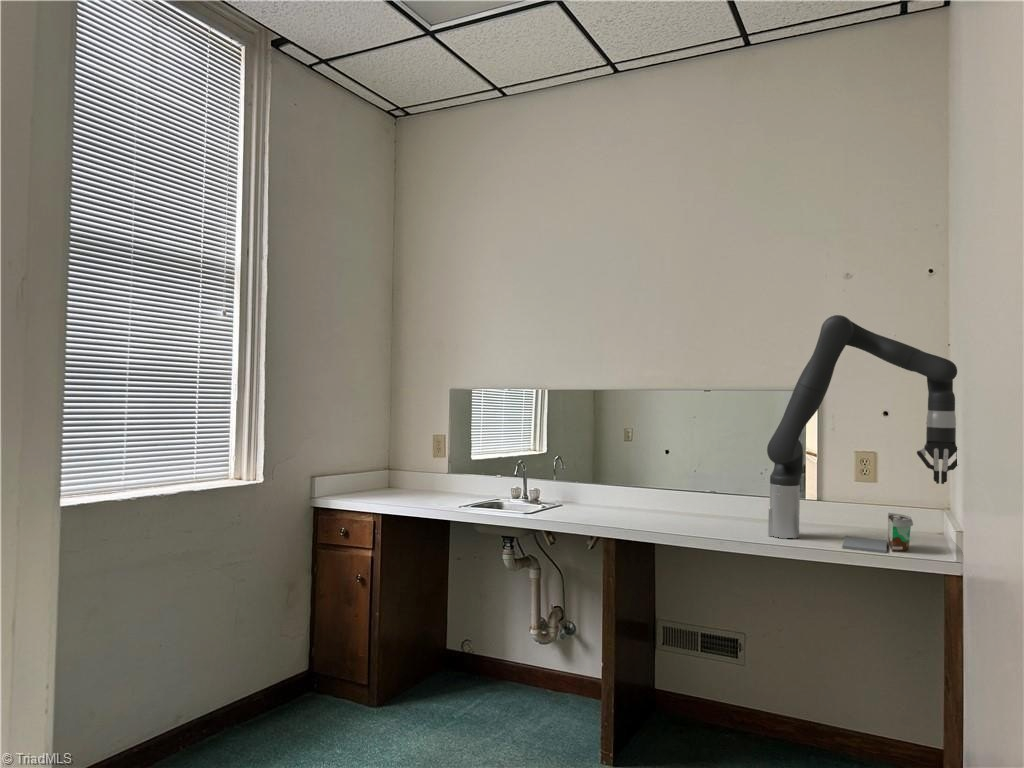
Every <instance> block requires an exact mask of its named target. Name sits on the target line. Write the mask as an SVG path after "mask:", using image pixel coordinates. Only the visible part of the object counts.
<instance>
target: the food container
mask: <svg viewBox="0 0 1024 768" xmlns="http://www.w3.org/2000/svg"><path fill="white" fill-rule="evenodd" d="M913 526H914V521H913V519H912V517H911V516H909V515H905V514H901V513H894V512H892V513H891V512H888V513H887V537H888V538H887V547H889V549H890V551H891V552H892V553H906V552H908V551H909V547H910V540H911V539H910V537H911V529H912V528H911V527H913Z"/></svg>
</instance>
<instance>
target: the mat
mask: <svg viewBox="0 0 1024 768" xmlns="http://www.w3.org/2000/svg"><path fill="white" fill-rule="evenodd" d="M843 539H844V540H843V543H842V546H841V547H842V548H841V549H847V550H852V551H853V550H855V551H856V550H857V551H863V552H864V551H865V552H872V553H873V552H874V553H882V554H887V549H888V548H887V547H888V539H880V538H871V537H860V536H851V535H845V536H844V538H843Z"/></svg>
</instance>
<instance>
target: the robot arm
mask: <svg viewBox="0 0 1024 768" xmlns="http://www.w3.org/2000/svg"><path fill="white" fill-rule="evenodd" d="M846 346H849V347H853V348H856V349H857V350H862V351H864V352H866V353H868V354H870V355H873V356H874V357H877V358H878V359H881V360H882V361H884V362H886V363H889V364H892V365H894V366H896V367H898V368H902V369H904V370H907V371H908V372H909V371H910V372H914V373H916V374H920V375H922V376H923V377H926V385H927V391H928V392H927V393H928V394H927V395H928V396H927V415H926V423H925V425H926V433H925V434H926V437H925V438H926V441H925V444H924V448H922V449H919V450H916V454H917V456H918V457H919V459H920V460H921V461H922V462H923V464H924V465H925V466H926V468H927V469H929V470H932V471H933V481H934V482H935V483H936V484H941V485H945V483H947V482H948V472H949V471H953V470H955V469H956V468H957V467H958V465H957V450H958V449H957V448H958V446H957V443H956V441H957V438H956V433H957V431H956V430H957V428H956V427H957V418H956V397H955V393H954V391H953V390H954V389H953V388H954V379H955V378H956V377H957V375H958V367H957V365H956V364H955V363H954V362H953V361H951V360H949V359H948V358H945V357H941V356H939V355H935V354H931V353H929V352H925V351H923V350H921V349H919V348H916V347H914V346H912V345H909V344H906V343H904V342H901V341H898V340H895V339H892V338H889V337H886V336H883V335H880V334H877V333H875V332H873V331H871V330H868V329H866V328H864V327H862V326H861V325H859V324H857V323H855V322H854V321H852V320H850V318H848V317H846V316H844V315H840V314H836V315H831V316H830V317H828V318H826V319H825V321H823V323H822V325H821V327H820V331H819V337H818V340H817V343H816V345H815V348H814V350H813V353H812V356H811V357H810V359H809V360H808V362H807V363H806V365H805V367H804V369H802V372H801V373H800V375H799V378H798V380H797V382H796V384H795V387H794V389H793V392H792V393H791V397H790V399H789V401H788V404H787V406H786V408H785V410H784V413H783V416H782V418H781V421H780V422H779V424H778V425H777V428H776V429H775V431H774V433H773V435H772V436H771V438H770V440H769V442H768V444H767V449H766V452H767V453H766V454H767V456H768V458H769V460H770V461H771V462H772V463H773V464H774V465H773V466H774V467H773V470H772V472H771V474H770V476H769V506H768V511H767V512H768V515H767V518H768V519H767V520H768V521H767V522H768V524H767V526H768V527H767V532H768V533H767V536H768V537H769V536H770V537H773V536H774V538H778V537H779V538H780V539H787V538H793V539H797V537H798V538H800V509H801V508H800V504H801V502H800V497H801V489H800V488H801V485H800V484H801V479H802V478H801V477H802V474H803V463H804V461H803V460H804V459H803V458H804V451H803V449H804V448H803V444H802V443H801V441H800V436H801V435H802V432H803V430H804V428H805V427H806V426H807V425H808V423H809V422H810V420H811V419H812V417H814V415H815V414H816V412H817V411H818V410H819V408H820V406H821V405H822V403H823V401H824V398H825V396H826V394H827V392H828V389H829V386H830V384H831V381H832V378H833V375H834V371H835V367H836V365H837V362H838V360H839V359H840V357H841V354H842V353H843V350H844V349H845V348H846ZM927 454H928V455H929V457H931V458H932V459H933V461H932V463H933V464H931V463H930V462H929V460H928V458H927V457H926V456H927ZM953 456H955V459H954V460H953V462H952V463H950V465H949V460H950V459H951V458H952V457H953ZM939 460H942V464H941V465H942V466H941V467H942V468H941V470H940V469H939V467H940V466H939ZM940 471H941V474H940ZM779 538H778V539H779Z"/></svg>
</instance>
